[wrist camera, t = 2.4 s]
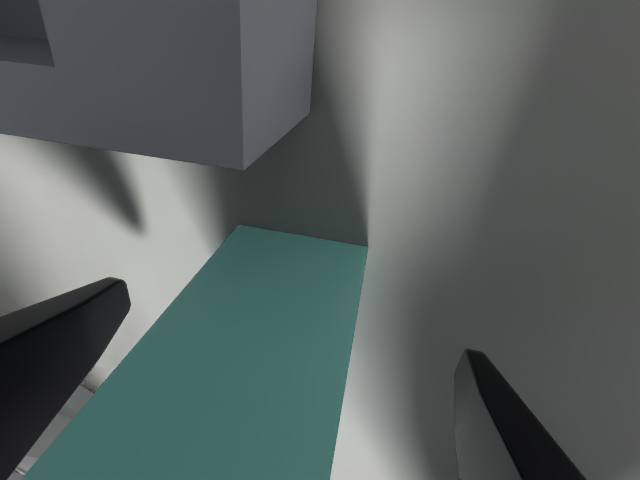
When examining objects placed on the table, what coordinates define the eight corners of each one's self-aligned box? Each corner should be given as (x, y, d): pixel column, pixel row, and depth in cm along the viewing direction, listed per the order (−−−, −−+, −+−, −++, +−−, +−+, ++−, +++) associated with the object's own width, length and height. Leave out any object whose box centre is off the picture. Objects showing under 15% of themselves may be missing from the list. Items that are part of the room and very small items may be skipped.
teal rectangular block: (351, 344, 12) (279, 771, 5) (242, 321, 12) (39, 683, 5) (368, 246, 10) (291, 716, 3) (239, 224, 10) (-74, 589, 4)
